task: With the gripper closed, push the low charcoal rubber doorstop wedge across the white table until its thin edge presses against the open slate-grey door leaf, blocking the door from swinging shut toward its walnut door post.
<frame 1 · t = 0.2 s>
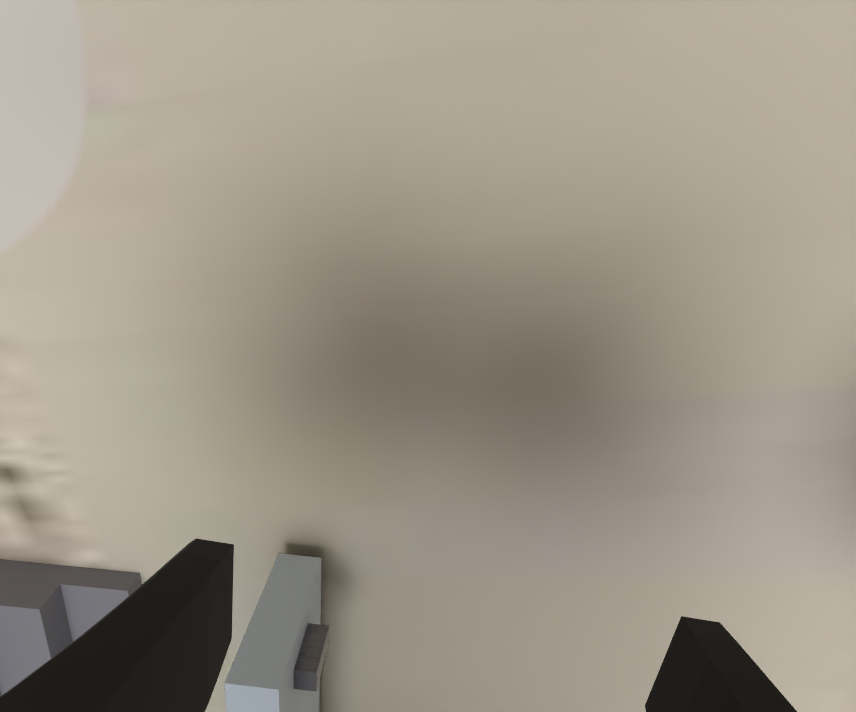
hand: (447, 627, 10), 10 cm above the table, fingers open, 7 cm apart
doorstop wedge: (63, 603, 25), on the table
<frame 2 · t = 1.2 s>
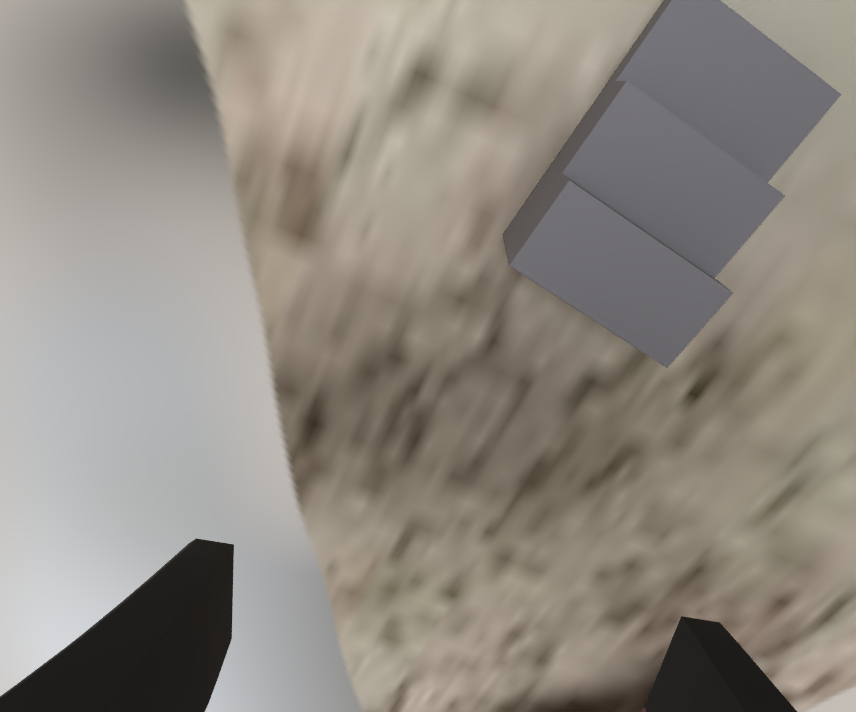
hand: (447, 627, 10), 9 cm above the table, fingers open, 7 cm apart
doorstop wedge: (650, 167, 16), on the table
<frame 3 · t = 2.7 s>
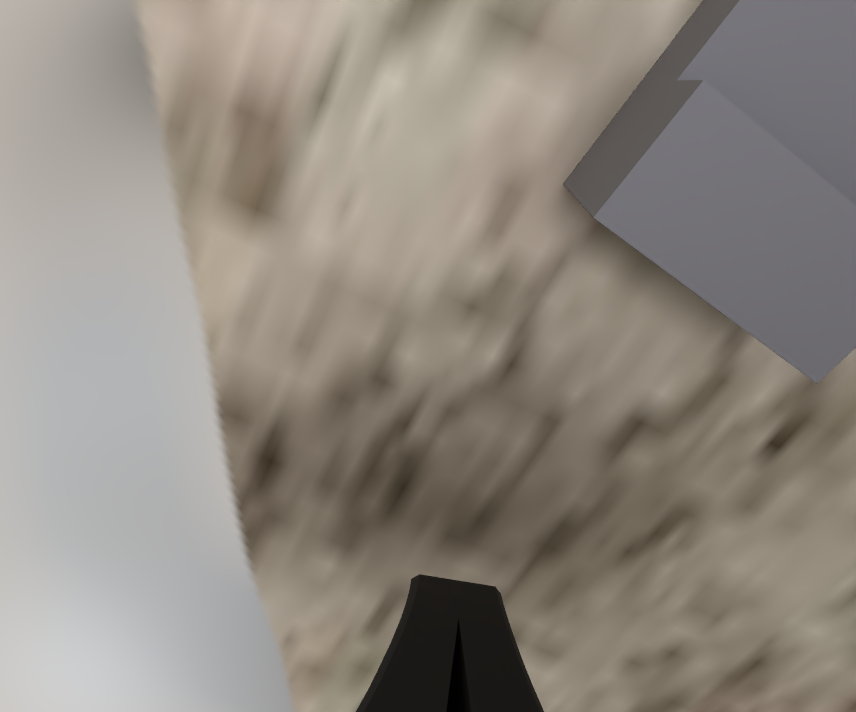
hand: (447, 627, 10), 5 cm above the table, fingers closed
doorstop wedge: (780, 93, 11), on the table
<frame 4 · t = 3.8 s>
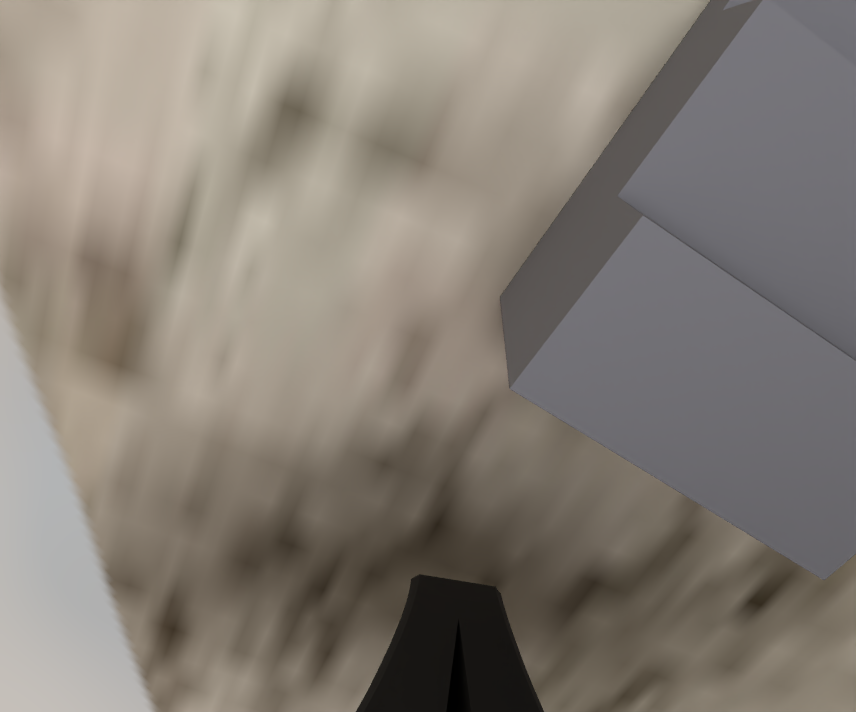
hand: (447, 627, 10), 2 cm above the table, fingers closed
doorstop wedge: (764, 178, 9), on the table
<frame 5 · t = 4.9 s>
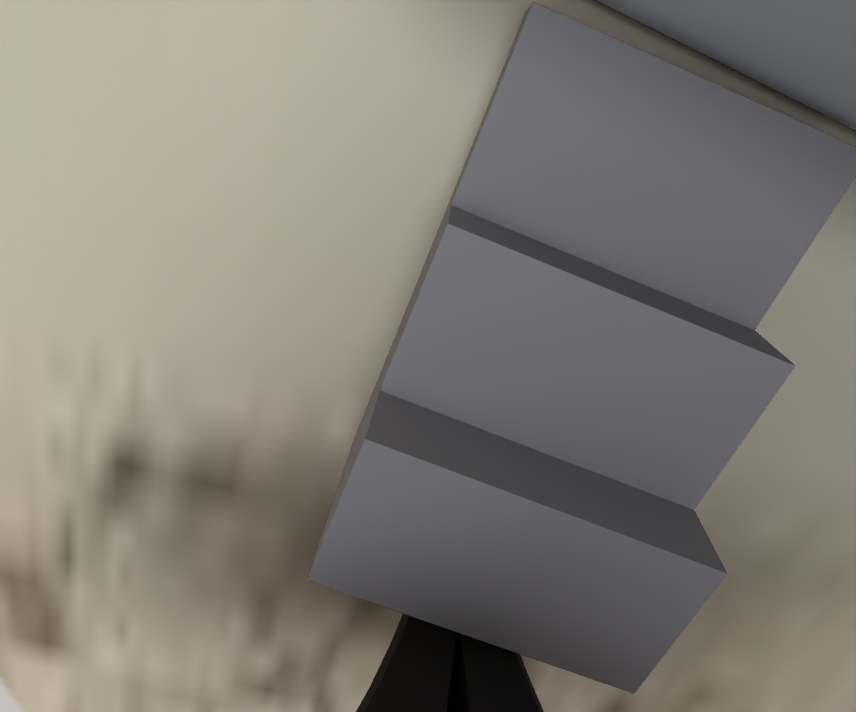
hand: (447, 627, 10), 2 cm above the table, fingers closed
doorstop wedge: (561, 305, 10), on the table, touching gripper
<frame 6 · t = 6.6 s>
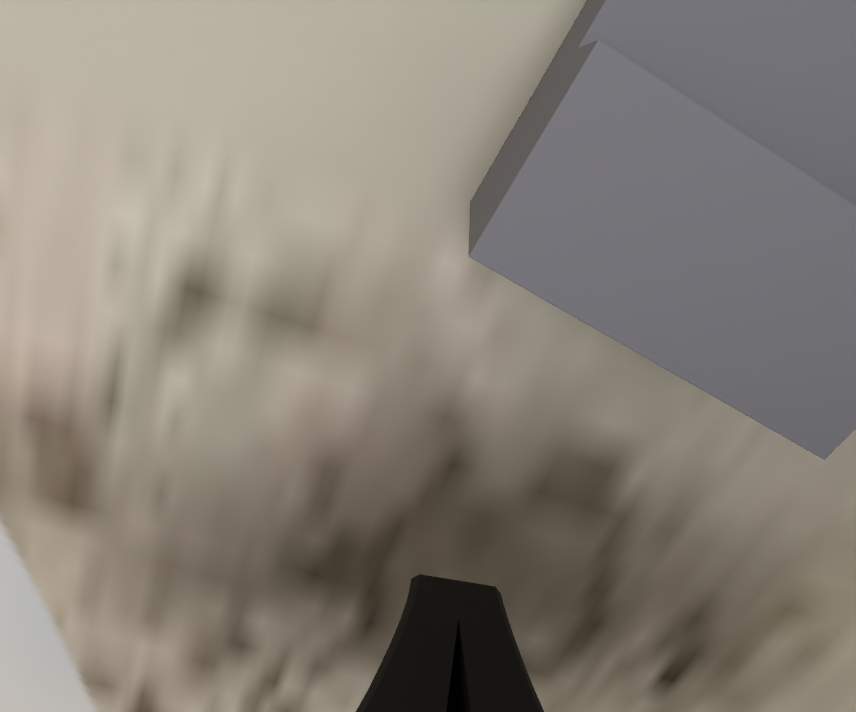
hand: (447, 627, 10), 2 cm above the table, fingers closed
doorstop wedge: (744, 55, 9), on the table, touching door leaf
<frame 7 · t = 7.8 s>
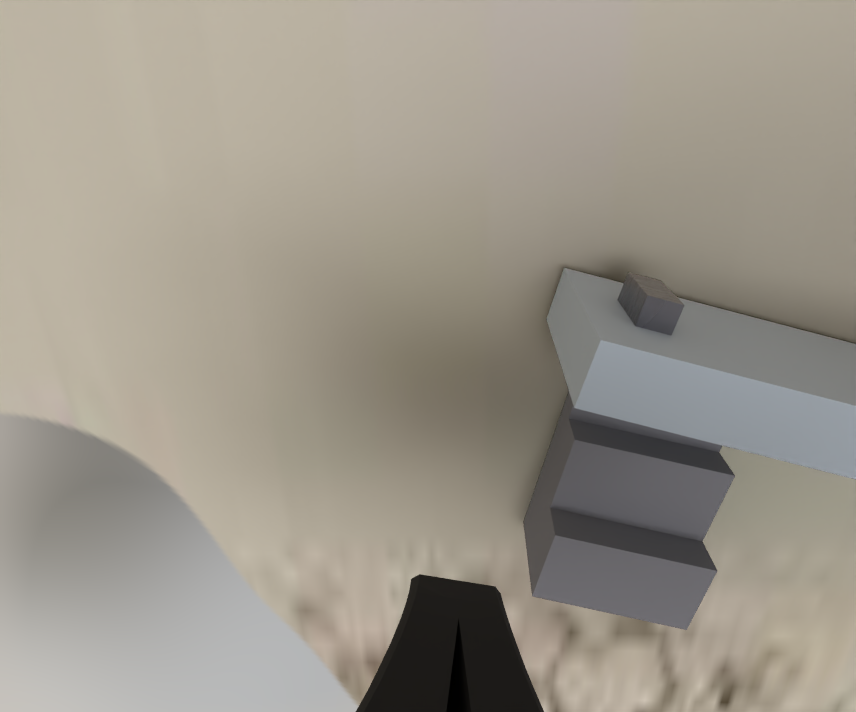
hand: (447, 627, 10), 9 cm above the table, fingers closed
door leaf: (813, 376, 15), point 3 cm above the table, hinge at -95.6°
doorstop wedge: (623, 442, 20), on the table
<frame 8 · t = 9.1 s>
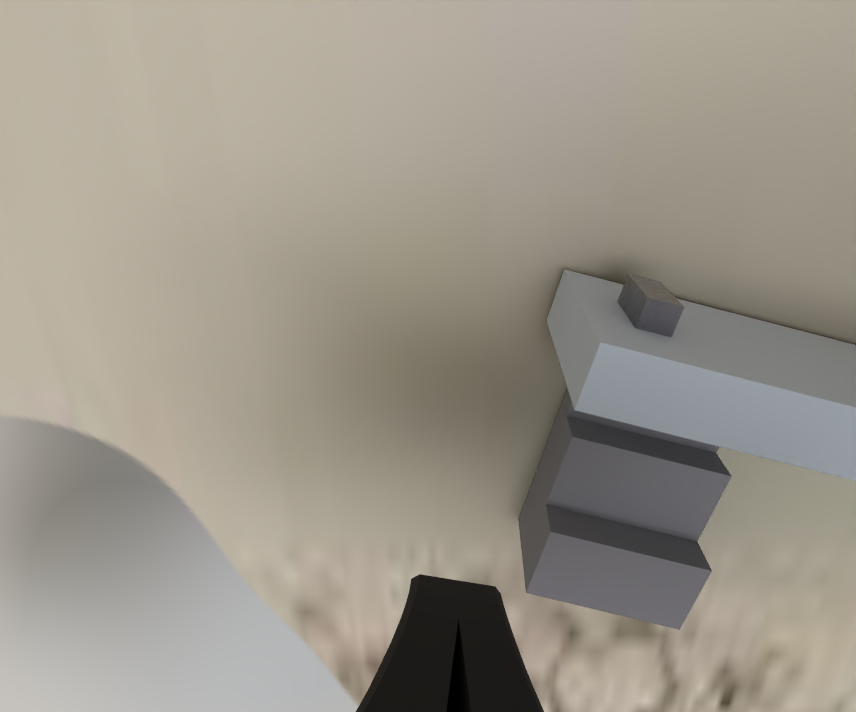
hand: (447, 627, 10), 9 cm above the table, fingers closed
door leaf: (813, 377, 15), point 3 cm above the table, hinge at -95.6°
doorstop wedge: (620, 441, 20), on the table
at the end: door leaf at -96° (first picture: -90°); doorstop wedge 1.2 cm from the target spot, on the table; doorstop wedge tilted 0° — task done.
